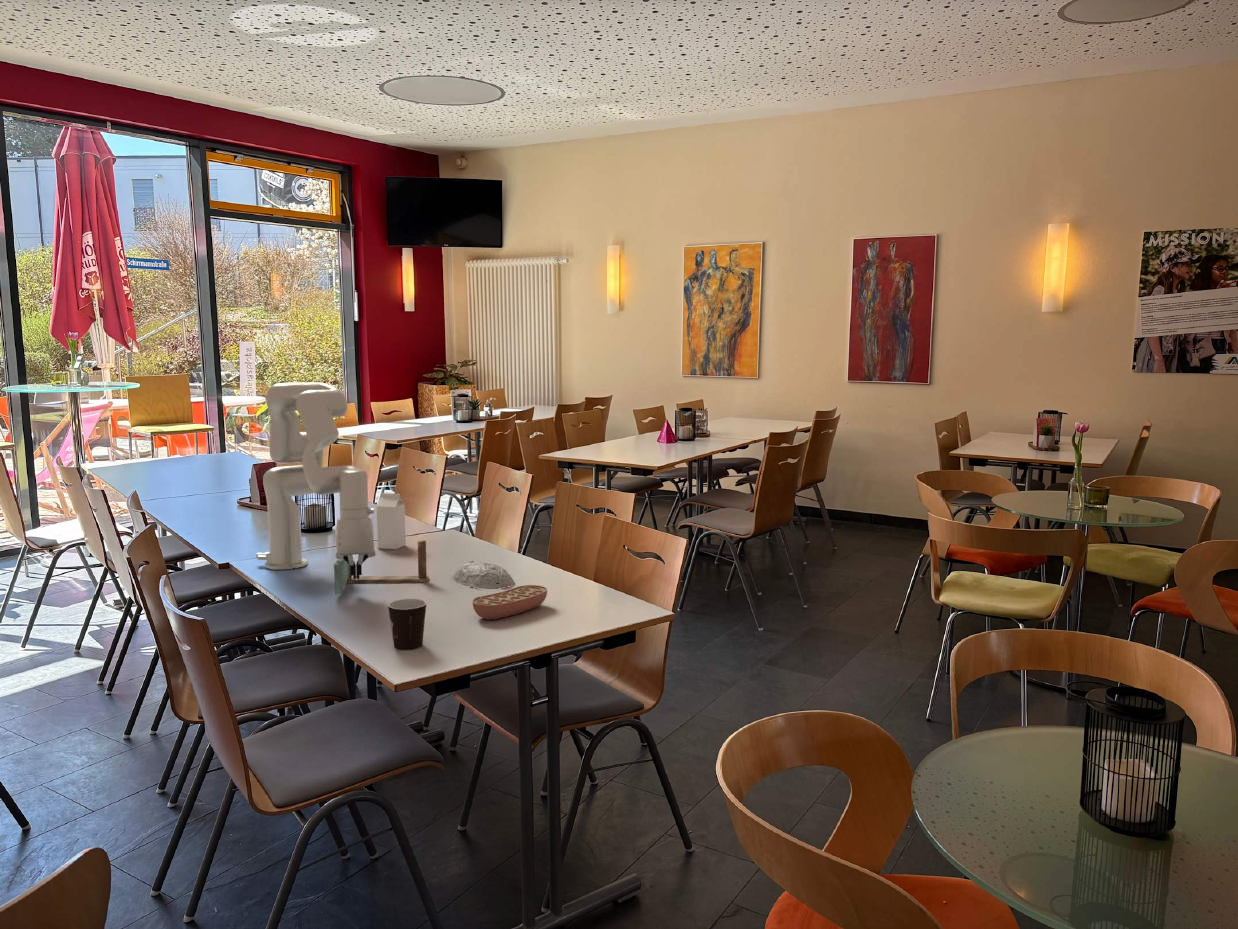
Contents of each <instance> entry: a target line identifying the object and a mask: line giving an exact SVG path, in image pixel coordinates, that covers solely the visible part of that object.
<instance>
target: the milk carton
mask: <svg viewBox="0 0 1238 929" xmlns="http://www.w3.org/2000/svg"><path fill="white" fill-rule="evenodd" d="M405 505H406V504H405V502H404V500H403V499H402V497H401V493H391V492H390V493H389V492H388V493H387V492H380V498H379V500H378V502H377V504H376V526H377V528H376V529H377V530H376V531H377V534H376V536H377V549H385V550H399V549H401V548H402V547H404V546H406V544H407V543H406V541H407V540H406V511H405V510H406V508H405V507H406V506H405Z"/></svg>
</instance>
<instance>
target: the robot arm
mask: <svg viewBox="0 0 1238 929" xmlns="http://www.w3.org/2000/svg"><path fill="white" fill-rule="evenodd" d="M266 407H267V410H268V414H269V418H270V419H269V420H270V425H269V426H270V428H269V429H270V430H269V455H270V456H269V457H270V460H271V461H272V462H273V463H276V464H280V465H281V464H284V465H285V464H295V463H296V464H297V465H287V466H286V465H285V466H284V465H283V466H276V467H272V468H270V469H268V470H267V471H266V472H265V473H264V474H263V477H262V485H263V488H264V493H265V498H266V507H267V521H268V545H269V546H268V548H269V549H268V550H269V551H267V552H257V553H256V559H257V560H258V561H262V560H264V561H266V562H265V563H264V567H265V568H266V569H268V568H269V569H268V570H273V571H281V570H282V571H283V570H286V569H287V570H293V568H295V569H299V567H300V568H302V567H305V566H307V565H308V560H307V559H306V558H303V555H302V554H303V553H302V551H303V550H302V530H301V525H302V524H301V510H300V508H299V505H298V504H297V503H296V502H295V501H294V499H293V497H296V496H297V497H298V496H303V495H304V496H305V495H311V494H312V495H313V494H317V495H319V496H320V495H329V494H330V495H332V494H338V493H339V514H340V515H339V516H340V517H338V518H337V520H336V530H335V548H336V553H335V559H336V560H337V559H343V560H345V561H346V562H347V563H349V564H350V570H351V576H353V579H356V576H357V579H359V576H363V573H362V572H363V571H362V569H363V566H362V565H363V563H364V562H366V561H367V559H370V558H374V557H376V550H375V533H374V526H373V525H374V524H373V520H372V517H371V516H370V515H371V514H374V513H375V511H374V508H370V507H369V492H368V491H369V487H368V486H369V485H368V473H367V470H364V469H362V468H357V467H356V466H354V465H336V466H325V467H323V464H324V462H323V461H324V449H325V448H327V447H328V446H330V445H332V444H333V443H335V442H336V441H337V440H338V438H339V435H340V434H339V430H338V428H337V425H336V422H335V419H334V418H336V419H337V418H342V417H344V416H345V415H346V414H347V412H348V401H347V398H346V396H345V394H344V393H343V392H342V391H341V390H340V389H338V388H336V387H335V386H331V385H328V384H327V383H324V382H281V383H280V382H279V383H276V384H273V385H271V386H270V387H269V388H268V389H267V393H266ZM296 411H297V412H298V413H297V412H296ZM301 424H302V425H303V428H304V430H305V431H300V430H301V429H300V428H301V427H300V426H301ZM298 463H302V464H299V465H298ZM347 555H348V556H347ZM353 555H357V556H358V558H357V561H355V560H354V556H353ZM287 570H286V571H287Z"/></svg>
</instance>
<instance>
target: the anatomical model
mask: <svg viewBox="0 0 1238 929" xmlns="http://www.w3.org/2000/svg"><path fill="white" fill-rule="evenodd" d="M547 595H548V588H547V587H545V586H542V585H538V584H537V585H536V584H529V585H528V584H525V585H520V586H519V585H518V586H516V587H514V588H510V589H507V590H504V591H500V592H496V593H491V594H485V595H482V596H477V597H475V598H473V599H472V608H473V610H474V612H475V613H476V614H477V616H479V617H480V618H482V619H484V620H489V621H490V620H491V621H493V620H497V619H502V618H507V617H509V616H514V615H518V614H521V613H523V612H527V611H529V610H532V609H535V608H537V607H539V606H541V605H542V604H543V603H544V601H545V600H546V598H547Z"/></svg>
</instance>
